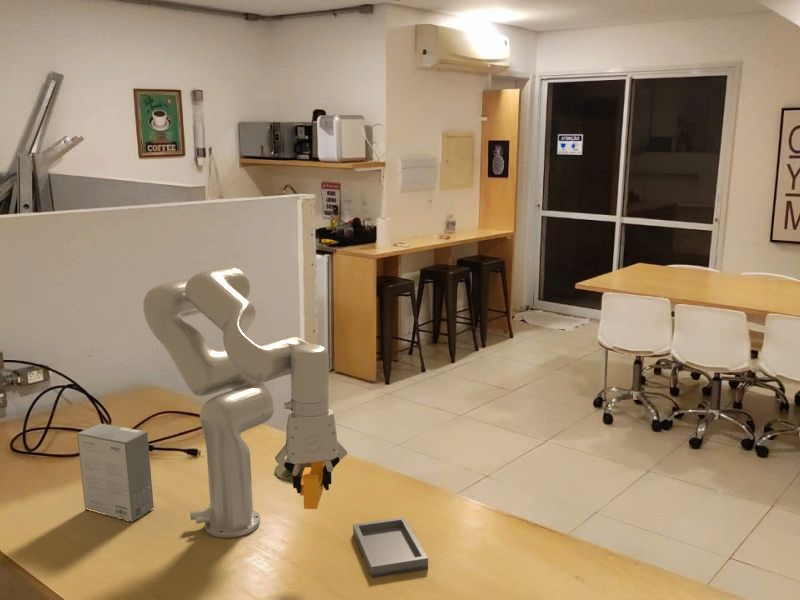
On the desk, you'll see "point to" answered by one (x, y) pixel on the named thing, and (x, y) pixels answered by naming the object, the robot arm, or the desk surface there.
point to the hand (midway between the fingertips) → (312, 488)
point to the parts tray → (389, 547)
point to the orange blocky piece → (312, 485)
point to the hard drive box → (116, 471)
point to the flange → (288, 472)
